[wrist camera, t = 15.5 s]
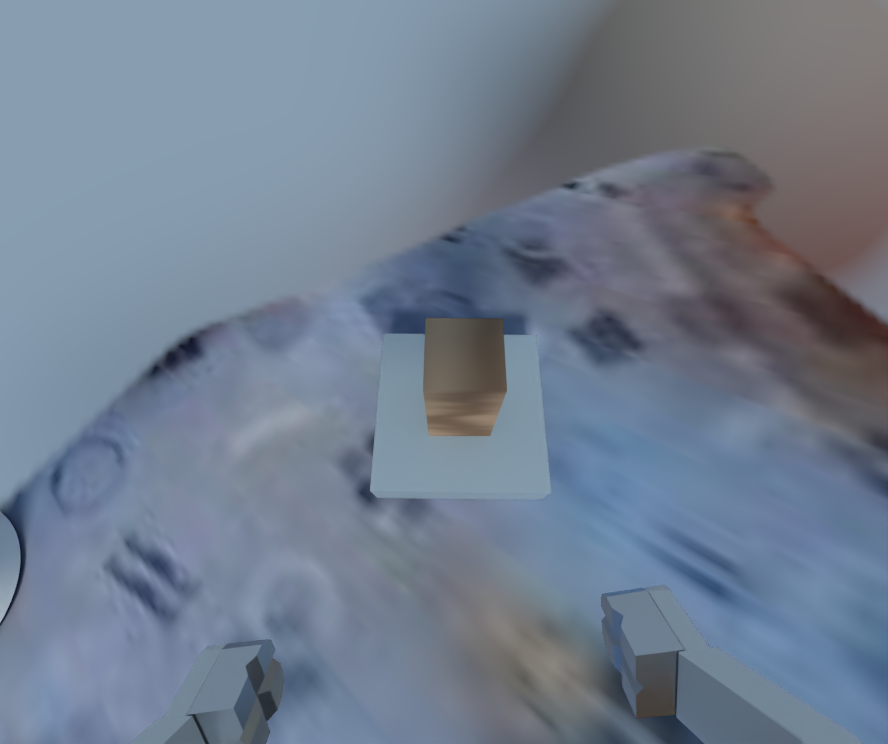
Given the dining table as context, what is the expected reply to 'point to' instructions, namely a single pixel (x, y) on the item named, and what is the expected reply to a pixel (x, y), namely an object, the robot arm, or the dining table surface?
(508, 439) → the slate base
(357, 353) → the dining table surface
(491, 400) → the walnut block
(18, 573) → the robot arm
